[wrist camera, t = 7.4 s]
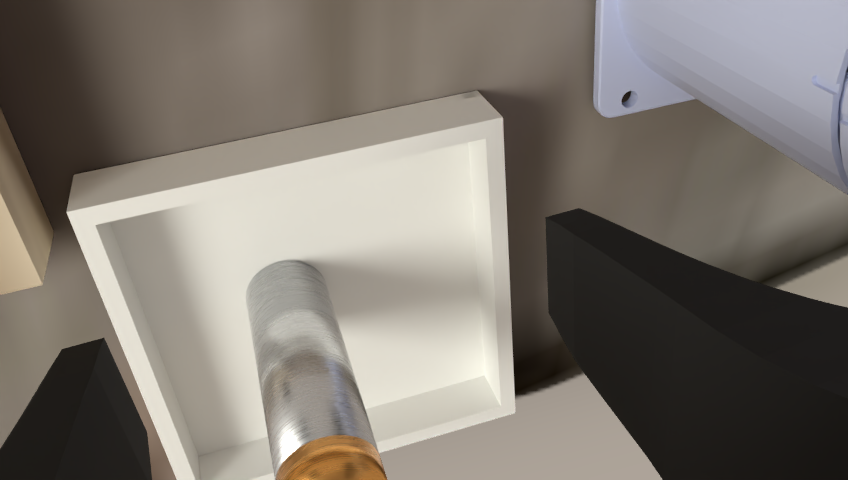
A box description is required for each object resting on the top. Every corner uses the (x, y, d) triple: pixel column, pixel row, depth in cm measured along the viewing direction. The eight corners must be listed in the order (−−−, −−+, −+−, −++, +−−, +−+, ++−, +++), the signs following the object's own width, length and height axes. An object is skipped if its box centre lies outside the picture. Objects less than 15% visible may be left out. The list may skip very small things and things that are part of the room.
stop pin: (315, 250, 23) (379, 455, 16) (334, 311, 24) (401, 522, 17) (235, 275, 22) (267, 494, 16) (259, 335, 24) (298, 560, 17)
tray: (476, 90, 22) (502, 117, 20) (494, 374, 28) (515, 413, 26) (73, 174, 20) (65, 212, 18) (187, 461, 26) (189, 508, 24)
